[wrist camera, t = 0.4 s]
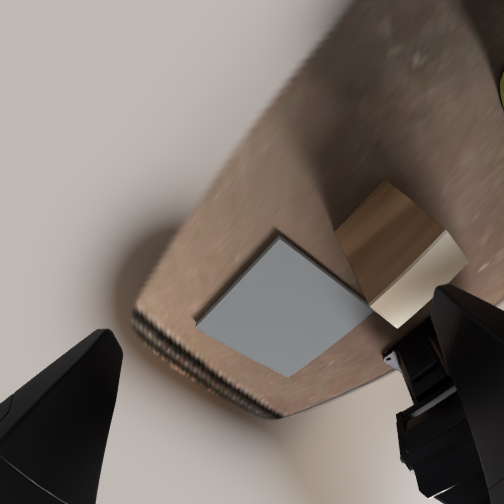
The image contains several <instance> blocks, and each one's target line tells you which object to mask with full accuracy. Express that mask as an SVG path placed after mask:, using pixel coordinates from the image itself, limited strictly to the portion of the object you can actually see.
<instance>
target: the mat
mask: <svg viewBox="0 0 504 504" xmlns="http://www.w3.org/2000/svg"><path fill="white" fill-rule="evenodd" d="M372 312H373V309H372V308H371V307H369V304H368V303H366V302H365V301H364V300H363V299H361V298H360V297H359V296H358V295H356V294H355V293H354V292H353V291H351V290H350V289H349V288H347V287H346V286H345V285H344V284H342V283H341V282H340V281H339V280H337V279H336V278H335V277H333V276H332V275H331V274H330V273H328V272H327V271H326V270H324V269H323V268H322V267H321V266H319V265H318V264H317V263H315V262H314V261H313V260H311V259H310V258H309V257H308V256H306V255H305V254H304V253H302V252H301V251H300V250H298V249H297V248H296V247H295V246H293V245H292V244H291V243H289V242H288V241H287V240H285V239H284V238H283V237H281V236H280V235H278V236H277V238H276V239H275V240H274V241H273V242H272V243H271V244H270V245H269V246H268V247H267V248H266V249H265V250H264V251H263V252H262V254H261V255H260V256H259V257H258V258H257V259H256V260H255V261H254V262H253V263H252V264H251V265H250V266H249V267H248V268H247V270H246V271H245V272H244V273H243V274H242V275H241V276H240V277H239V278H238V279H237V280H236V281H235V282H234V283H233V284H232V286H231V287H230V288H229V289H228V290H227V291H226V292H225V293H224V294H223V295H222V296H221V297H220V298H219V299H218V300H217V301H216V302H215V304H214V305H213V306H212V307H211V308H210V309H209V310H208V311H207V312H206V313H205V314H204V315H203V316H202V317H201V318H200V319H199V320H198V322H197V323H196V326H195V328H196V329H198V330H200V331H202V332H203V333H205V334H207V335H209V336H210V337H212V338H214V339H216V340H217V341H219V342H221V343H223V344H225V345H227V346H228V347H230V348H232V349H234V350H236V351H238V352H239V353H241V354H243V355H245V356H247V357H249V358H251V359H253V360H254V361H256V362H258V363H260V364H262V365H264V366H266V367H268V368H270V369H272V370H274V371H276V372H278V373H280V374H282V375H284V376H286V377H288V378H289V377H290V376H292V375H293V374H294V373H296V372H297V371H299V370H300V369H301V368H303V367H304V366H306V365H307V364H308V363H310V362H311V361H312V360H314V359H315V358H316V357H318V356H319V355H320V354H322V353H323V352H324V351H326V350H327V349H328V348H329V347H331V346H332V345H333V344H335V343H336V342H337V341H338V340H340V339H341V338H342V337H343V336H345V335H346V334H347V333H348V332H350V331H351V330H352V329H353V328H354V327H356V326H357V325H358V324H359V323H360V322H362V321H363V320H364V319H365V318H366V317H368V316H369V315H370V314H371V313H372Z"/></svg>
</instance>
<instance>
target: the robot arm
mask: <svg viewBox="0 0 504 504" xmlns="http://www.w3.org/2000/svg"><path fill="white" fill-rule="evenodd" d="M122 360H123V351H122V349H121V347H120V345H119V343H118V341H117V339H116V338H115V336H114V334H113V332H112V331H111V330H110V329H97V330H96V331H94V332H93V333H91V334H90V335H89V336H88V337H86V338H85V339H84V340H82V341H81V342H79V343H78V344H77V345H75V346H74V347H73V348H71V349H70V350H69V351H68V352H66V353H65V354H63V355H62V356H61V357H60V358H58V359H57V360H56V361H54V362H53V363H52V364H50V365H49V366H48V367H47V368H45V369H44V370H43V371H42V372H40V373H39V374H38V375H36V376H35V377H34V378H32V379H31V380H30V381H28V382H27V383H26V384H25V385H23V386H22V387H21V388H20V389H18V390H17V391H16V392H15V393H14V394H12V395H11V396H9V397H8V398H7V399H6V400H4V401H3V402H2V403H0V504H96V497H97V490H98V485H99V479H100V473H101V467H102V462H103V458H104V452H105V448H106V443H107V438H108V434H109V429H110V425H111V420H112V416H113V412H114V407H115V403H116V398H117V392H118V384H119V378H120V371H121V365H122ZM383 360H384V362H385V363H387V364H388V365H390V366H391V367H393V368H395V369H396V370H398V371H399V372H401V373H402V374H403V377H404V380H405V383H406V385H407V388H408V390H409V393H410V396H411V398H412V401H413V404H414V405H413V406H411V407H410V408H408V409H406V410H404V411H403V412H402V411H401V412H399V413H398V414H396V418H397V422H396V424H397V432H398V440H399V449H400V455H401V456H400V460H401V462H402V463H405V464H406V466H407V467H408V469H409V470H410V471H411V472H412V473H414V474H415V475H416V479H417V483H418V487H419V491H420V492H421V493H422V494H423V495H425V496H426V497H427V498H431V497H434V498H436V499H437V500H439V501H440V502H442V503H443V504H504V311H503V310H501V309H499V308H497V307H495V306H493V305H491V304H489V303H488V302H486V301H484V300H482V299H480V298H478V297H476V296H474V295H472V294H470V293H468V292H466V291H464V290H462V289H459V288H457V287H455V286H453V285H451V284H444V285H439V286H437V287H436V288H435V290H434V295H433V300H432V306H431V317H429V318H428V319H427V320H426V321H425V322H424V323H423V324H421V325H420V326H419V327H418V328H417V329H415V330H414V331H413V332H412V333H411V334H409V335H408V336H407V337H406V338H405V339H403V340H402V341H401V342H400V343H398V344H397V345H396V346H395V347H393V348H392V349H391V350H390V351H388V352H387V353H386V354H384V355H383Z"/></svg>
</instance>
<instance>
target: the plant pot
mask: <svg viewBox="0 0 504 504" xmlns="http://www.w3.org/2000/svg"><path fill="white" fill-rule="evenodd" d="M500 94H501V100H502V104H503V107H504V73H503V76H502V78H501V80H500Z"/></svg>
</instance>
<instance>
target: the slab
mask: <svg viewBox="0 0 504 504" xmlns="http://www.w3.org/2000/svg"><path fill="white" fill-rule="evenodd" d="M334 233H335V235H336V237H337V239H338V241H339V243H340V245H341V247H342V249H343V251H344V253H345V255H346V257H347V259H348V261H349V263H350V266H351V268H352V270H353V272H354V274H355V276H356V278H357V280H358V282H359V285H360V287H361V289H362V291H363V293H364V295H365V298H366V300H367V302H368V304H369V307H371V308H372V309H373V310H374V311H376V312H377V313H378V314H379V315H381V316H382V317H383V318H384V319H386V320H387V321H388V322H389V323H391V324H392V325H393V326H394V327H396V328H397V329H398V328H399V327H400V326H401V325H402V324H404V323H405V322H406V321H407V320H408V319H409V318H411V317H412V316H413V315H414V314H415V313H416V312H417V311H419V310H420V309H421V308H422V307H423V306H424V305H425V304H426V303H427V302H429V301H430V300H431V299H432V298H433V295H434V290H435V288H436V287H437V286H439V285H444V284H448V283H449V282H450V281H451V280H452V279H453V278H454V277H455V276H456V275H457V274H458V273H459V272H460V271H461V270H462V269H463V268H464V267H465V266H466V264H467V263H468V262H469V261H468V260H467V258H466V257H465V255H464V254H463V253H462V251H461V250H460V248H459V247H458V245H457V244H456V242H455V241H454V240H453V238H452V237H451V235H450V234H449V233H448V231H447V230H445V229H444V228H443V227H442V226H441V225H440V224H439V223H438V222H437V221H435V220H434V219H433V218H432V217H431V216H430V215H429V214H427V213H426V212H425V211H424V210H423V209H421V208H420V207H419V206H418V205H417V204H416V203H414V202H413V201H412V200H411V199H409V198H408V197H407V196H406V195H405V194H403V193H402V192H401V191H400V190H398V189H397V188H396V187H394V186H393V185H392V184H391V183H389V182H388V181H387V180H385V179H384V180H383V181H382V182H381V183H380V184H379V186H378V187H377V188H376V189H375V190H374V191H373V192H372V193H371V194H370V195H369V196H368V197H367V198H366V199H365V200H364V201H363V202H362V204H361V205H360V206H359V207H358V208H357V209H356V210H355V211H354V212H353V213H352V214H351V215H350V216H349V217H348V218H347V219H346V220H345V221H344V222H343V223H342V224H341V225H340V226H339V227H338V228H337V229H336V230H335V231H334Z"/></svg>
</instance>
